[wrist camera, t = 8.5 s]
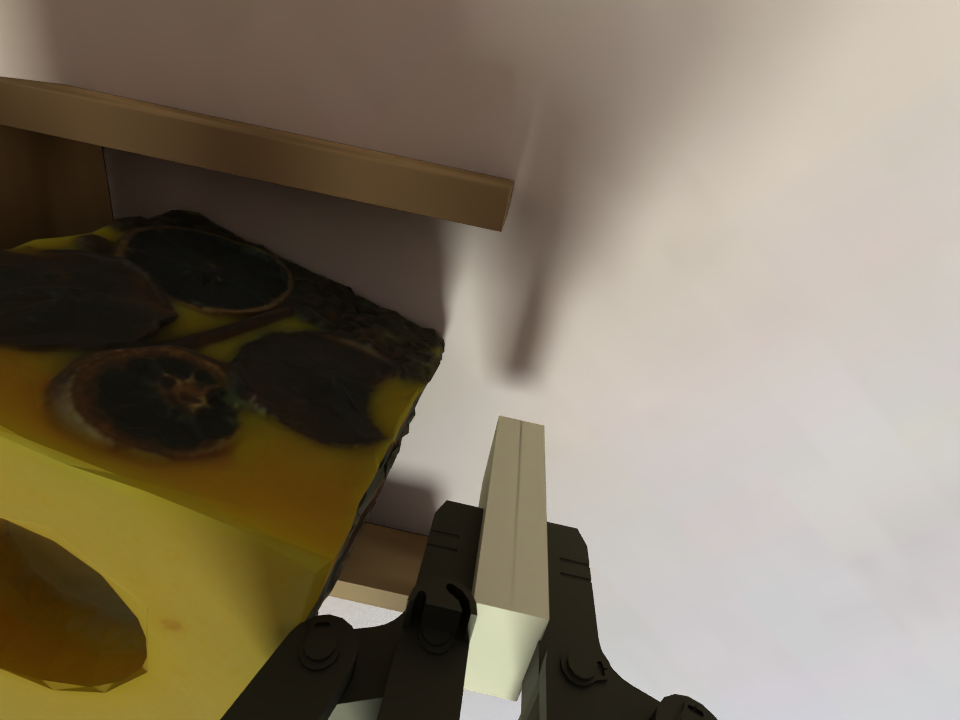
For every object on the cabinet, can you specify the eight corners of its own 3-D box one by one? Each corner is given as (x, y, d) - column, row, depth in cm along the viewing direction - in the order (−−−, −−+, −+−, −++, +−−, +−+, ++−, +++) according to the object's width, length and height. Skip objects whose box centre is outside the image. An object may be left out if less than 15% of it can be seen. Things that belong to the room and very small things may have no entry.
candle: (364, 524, 20) (228, 826, 11) (142, 429, 19) (-196, 675, 10) (458, 333, 16) (360, 577, 7) (178, 199, 15) (-345, 282, 6)
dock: (133, 487, 21) (-5, 607, 16) (61, 84, 14) (-236, 47, 9) (436, 554, 21) (401, 699, 15) (514, 180, 14) (502, 205, 8)
